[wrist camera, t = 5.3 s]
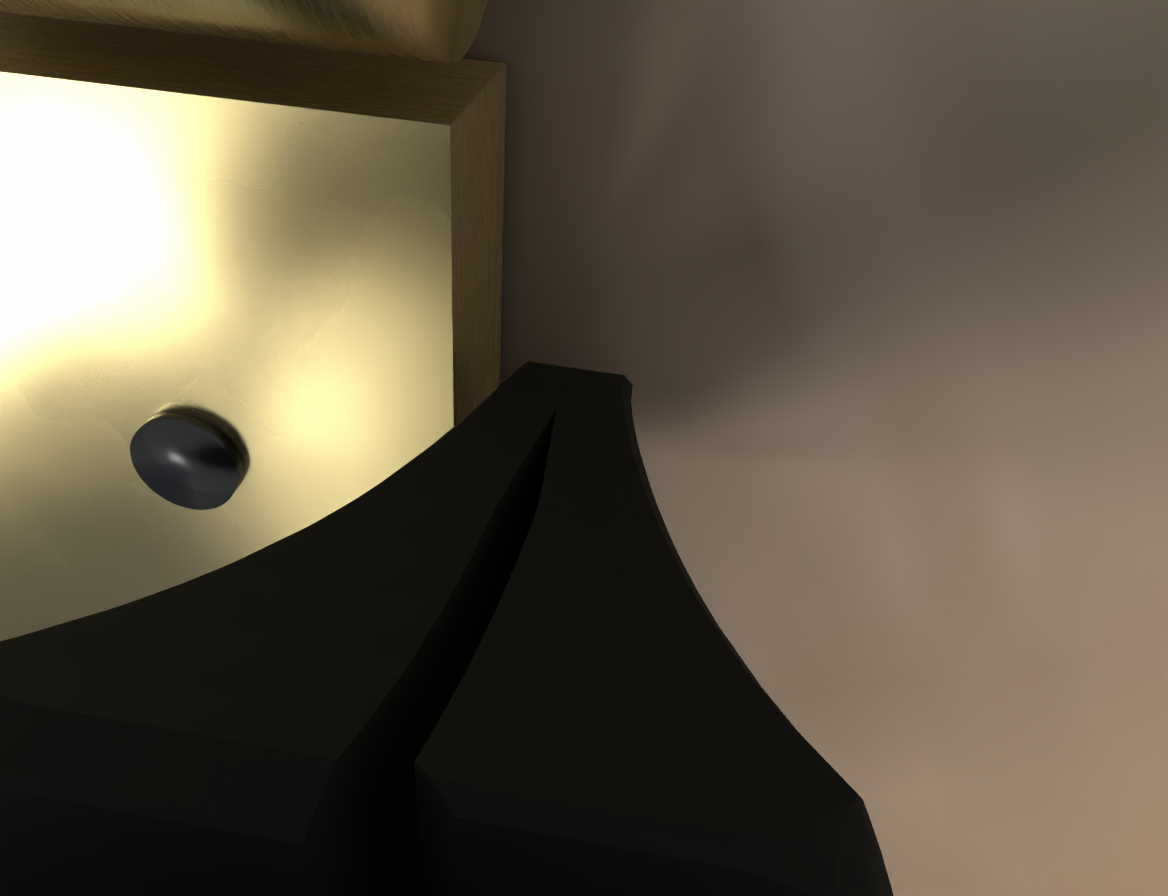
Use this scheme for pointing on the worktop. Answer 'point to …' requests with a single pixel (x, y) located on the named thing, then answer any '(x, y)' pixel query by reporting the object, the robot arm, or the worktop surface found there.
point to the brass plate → (230, 276)
